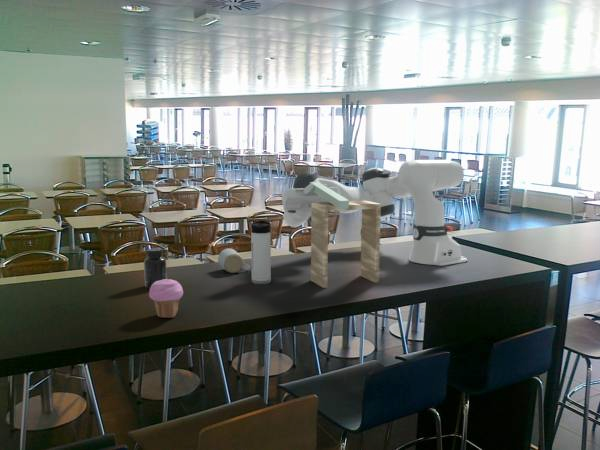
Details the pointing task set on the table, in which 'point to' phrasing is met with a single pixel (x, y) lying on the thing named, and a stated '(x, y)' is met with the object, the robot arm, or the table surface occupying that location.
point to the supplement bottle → (154, 267)
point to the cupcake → (166, 297)
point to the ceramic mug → (231, 261)
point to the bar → (330, 195)
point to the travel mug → (261, 252)
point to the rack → (368, 240)
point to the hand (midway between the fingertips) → (318, 186)
